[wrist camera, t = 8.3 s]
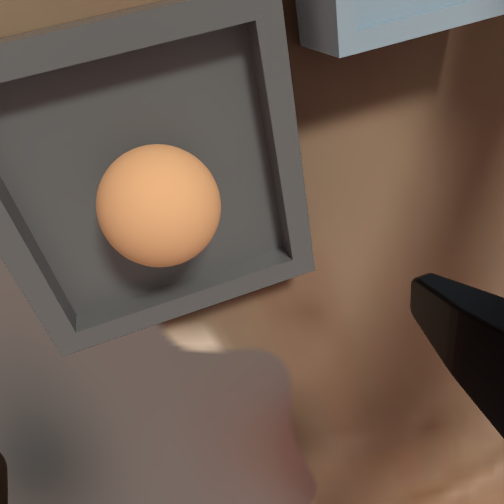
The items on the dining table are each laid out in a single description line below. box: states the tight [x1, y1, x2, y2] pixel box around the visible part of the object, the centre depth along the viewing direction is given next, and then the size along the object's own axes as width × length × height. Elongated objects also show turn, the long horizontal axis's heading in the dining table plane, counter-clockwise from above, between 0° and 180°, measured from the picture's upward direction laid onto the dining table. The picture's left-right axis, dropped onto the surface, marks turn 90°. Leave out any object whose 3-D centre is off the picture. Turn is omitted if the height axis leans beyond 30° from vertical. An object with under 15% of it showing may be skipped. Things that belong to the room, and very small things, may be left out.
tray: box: [0, 0, 315, 356], centre depth 18 cm, size 12×12×2 cm
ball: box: [96, 144, 221, 267], centre depth 16 cm, size 4×4×4 cm
